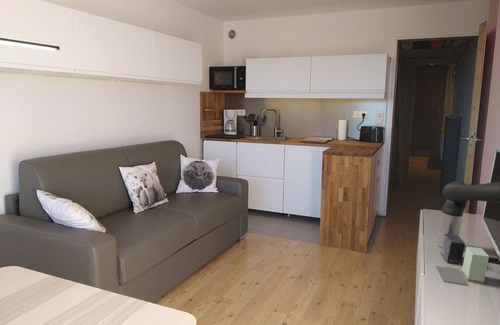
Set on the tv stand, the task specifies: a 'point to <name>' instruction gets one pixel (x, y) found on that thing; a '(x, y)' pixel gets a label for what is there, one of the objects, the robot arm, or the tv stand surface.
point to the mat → (451, 275)
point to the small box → (452, 249)
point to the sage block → (475, 265)
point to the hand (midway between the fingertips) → (487, 259)
